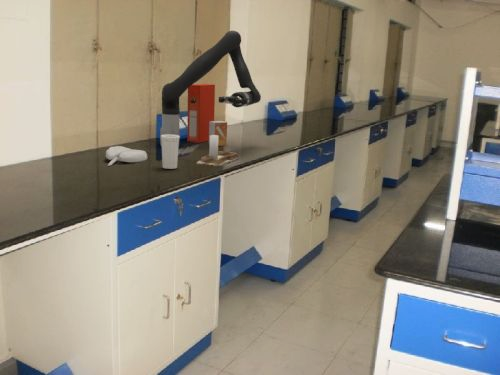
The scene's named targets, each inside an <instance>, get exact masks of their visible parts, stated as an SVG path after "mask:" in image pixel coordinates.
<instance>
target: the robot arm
mask: <svg viewBox="0 0 500 375" xmlns="http://www.w3.org/2000/svg"><path fill="white" fill-rule="evenodd" d="M241 43H242V36H241V33H240V32H238V31H236V30H229V31H227V32H226V33H225V34H224V35H223V36H222V38H221V39H220V40H218V41H217V42H216V43H215V45H213V46H212V47H211V48H209V49H208V50H206V51H205V52H203V53H202V54H201V55H199V56H198V57H197V58H196V59H194V60H193V61H192V62H191V63H190V64H189V66H188V67H187V68H185V70H184V72H182V74H180V76H178V77H177V78H176V79H174V80H173V81H172V82H168V83H165V85H164V86H163V87H162V89H161V127H160V128H159V130H160V134H159V137H160V138H159V139H160V140H159V142H160V143H159V144H160V146H161V147H162V140H161V135H168V134H170V135H178V136H180V114H181V111H180V110H181V109H180V97H181V96H182V95H183V94H184V93H185V92H186V91H188V88H189V87H190V86H191V85H195V84H196V83H197V82H198V81H200V80H202V78H203V77H204V76H206V75H207V74H208V73H210V71H212V70H213V69H214V68H215V67H216V66H217V65H218V63H219V62H220V61H221V60H222V59H223V58H224V57H225V56H226V55H229V56H230V57H229V58H230V59H231V62H232V65H233V68H234V71H235V74H236V78H237V81H238V83H239V87H240V88H241V89H246V88H247V89H249V91H237V92H234V93H232V94H231V95H229V96H228V95H227V96H218V103H220V104H223V103H225V104H229V105H231V106H232V107H234V108H242V107H248V106H252V105H254V104H258V103H259V102H260V101H261V100H262V99H261V98H262V96H261V93H260V91H259V90H258V89H257V87H256V86H255V83H254V82H253V80H252V77H251V73H250V70H249V68H248V66H247V64H246V62H245V60H244V57H243V54H242V49H241ZM178 147H180V144H179V145H178Z"/></svg>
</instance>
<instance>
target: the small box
mask: <svg viewBox="0 0 500 375" xmlns="http://www.w3.org/2000/svg"><path fill="white" fill-rule="evenodd" d="M227 134H228V122H227V121H223V120H214V121H210V123H209V141H208V145H209V146H210V135H218V136H219V137H218V147H219V146H220V147H221V146H225V147H226V146H227V142H228V141H227V138H228V137H227V136H228V135H227Z"/></svg>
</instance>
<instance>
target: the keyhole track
mask: <svg viewBox="0 0 500 375" xmlns="http://www.w3.org/2000/svg"><path fill="white" fill-rule="evenodd" d="M238 159H239V153H238V152H231V151H222V150H221V151H220V150H218V159H213V158H209V152H208V153H207V155H204V156H201V157H200V160H198V161H197V162H196V164H197V165H203V164H204V166H211V165H213V166H212V167H220V166H221V167H223V166H225V165H227V163H228V164H229V162H230V163H231V162H234V161H237V160H238Z"/></svg>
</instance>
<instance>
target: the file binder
mask: <svg viewBox="0 0 500 375" xmlns="http://www.w3.org/2000/svg"><path fill="white" fill-rule="evenodd" d="M215 87H216V85H215V84H213V83H211V84H209V83H199V84H197V83H194V84H192V85H191V86H190V87H189V88H188V89H187V138H186V139H187V142H188V141H190V142H189V143H193V142H194V143H193V144H201V143H204V142H209V123H210V121H215V96H216V94H215V93H216V88H215Z"/></svg>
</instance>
